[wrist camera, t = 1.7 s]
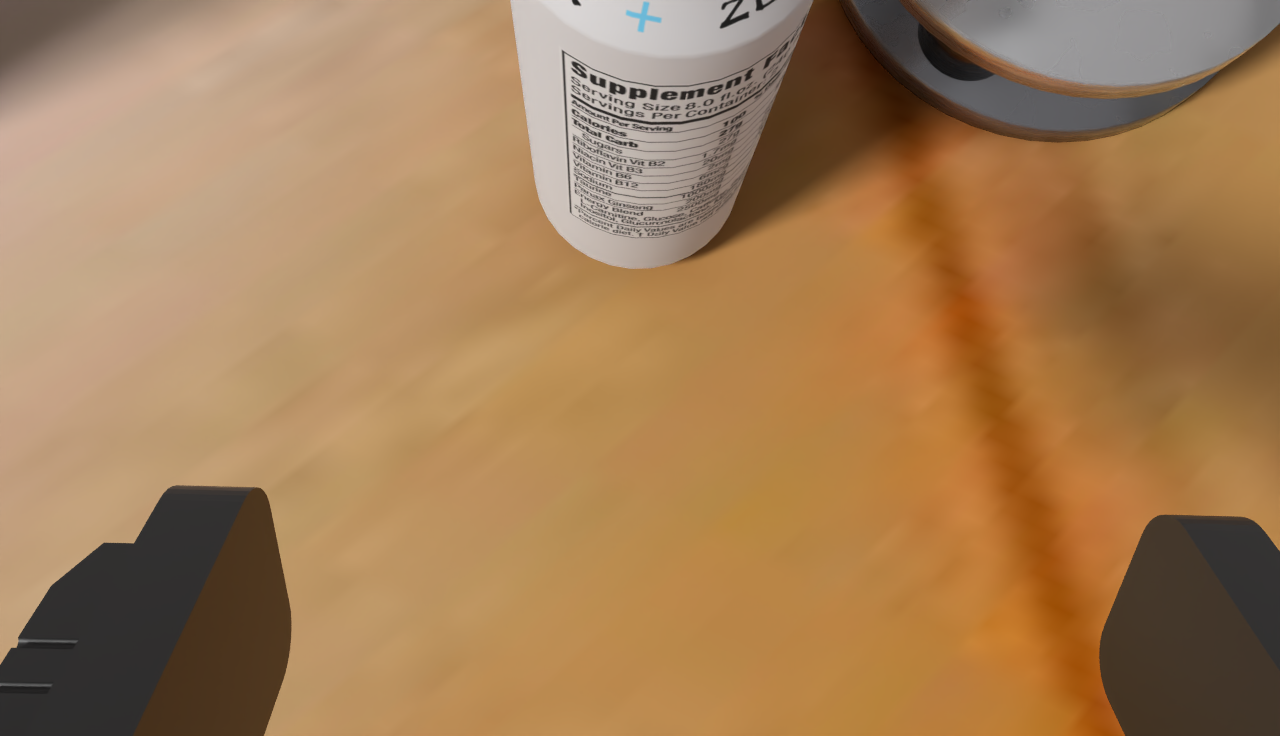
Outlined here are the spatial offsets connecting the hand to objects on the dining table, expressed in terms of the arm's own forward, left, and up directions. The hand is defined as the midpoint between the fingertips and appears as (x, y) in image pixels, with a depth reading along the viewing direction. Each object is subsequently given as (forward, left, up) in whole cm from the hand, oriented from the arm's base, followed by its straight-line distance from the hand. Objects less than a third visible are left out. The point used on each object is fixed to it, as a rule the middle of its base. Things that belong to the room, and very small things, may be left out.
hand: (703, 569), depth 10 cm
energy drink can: (-1, +12, -20) cm, 23 cm away
